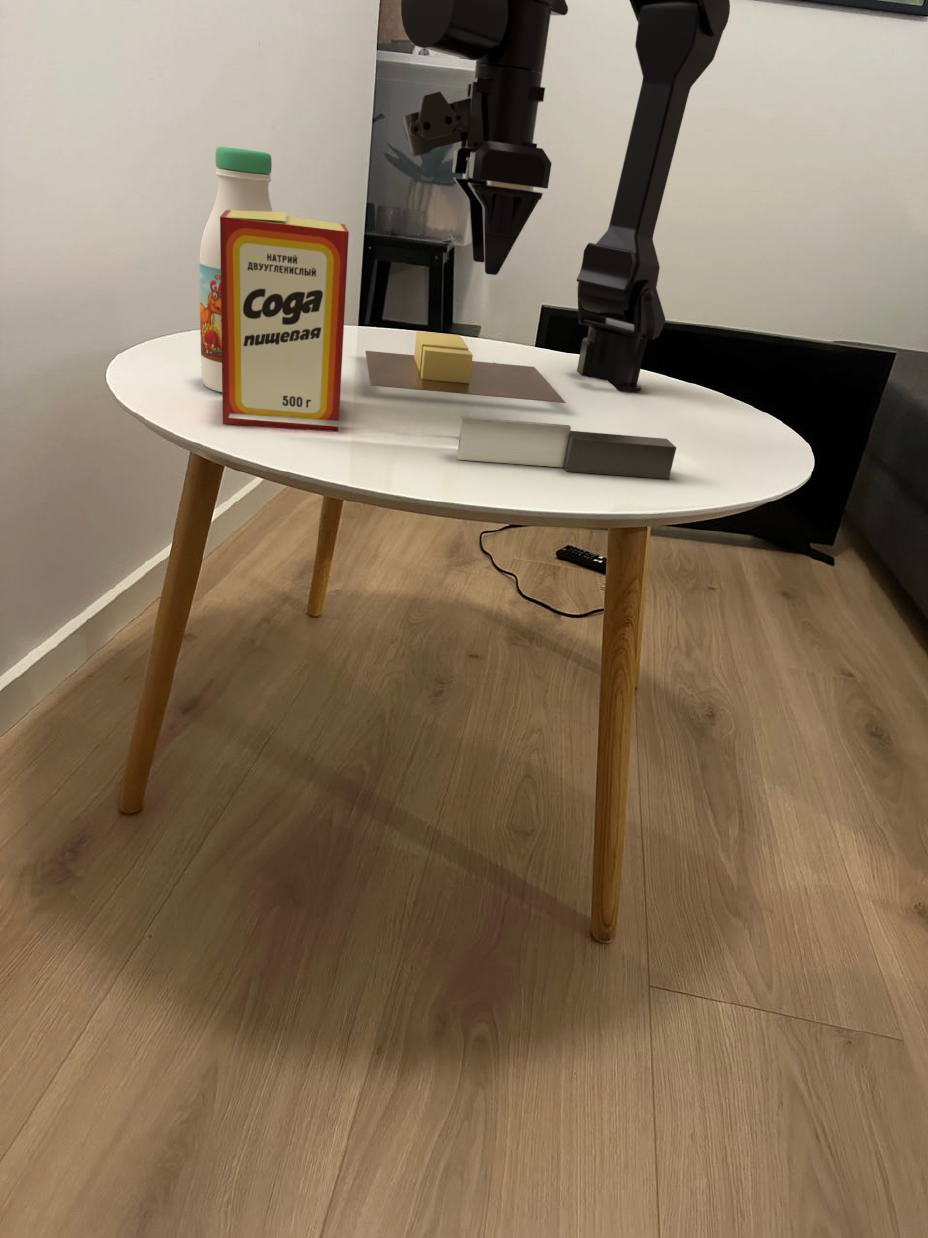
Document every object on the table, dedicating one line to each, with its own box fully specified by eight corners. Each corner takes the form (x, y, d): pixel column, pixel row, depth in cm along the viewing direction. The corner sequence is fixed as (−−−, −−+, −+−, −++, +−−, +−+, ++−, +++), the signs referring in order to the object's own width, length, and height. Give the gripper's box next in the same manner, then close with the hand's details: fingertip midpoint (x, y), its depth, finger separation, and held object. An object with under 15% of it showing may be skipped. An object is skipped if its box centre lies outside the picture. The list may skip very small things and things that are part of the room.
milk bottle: (193, 376, 83) (187, 140, 73) (272, 376, 86) (275, 152, 77) (212, 398, 77) (207, 145, 67) (295, 397, 80) (302, 157, 71)
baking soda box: (335, 410, 78) (344, 218, 71) (338, 431, 73) (349, 226, 65) (227, 402, 76) (225, 204, 69) (222, 423, 71) (219, 210, 63)
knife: (659, 469, 74) (669, 430, 72) (669, 479, 72) (678, 438, 70) (455, 454, 71) (460, 412, 69) (459, 463, 69) (464, 420, 67)
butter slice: (467, 379, 91) (470, 350, 90) (469, 383, 89) (472, 354, 88) (420, 375, 90) (423, 346, 89) (421, 379, 89) (424, 349, 87)
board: (533, 375, 102) (534, 366, 101) (564, 412, 88) (566, 402, 87) (364, 359, 98) (365, 350, 98) (369, 395, 84) (370, 384, 84)
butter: (457, 361, 98) (460, 335, 97) (465, 376, 92) (468, 347, 91) (414, 357, 97) (416, 330, 96) (419, 372, 91) (422, 343, 90)
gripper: (408, 64, 79) (394, 246, 86) (420, 43, 63) (402, 270, 70) (526, 82, 81) (502, 259, 88) (567, 67, 64) (534, 285, 72)
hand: (484, 267), depth 79 cm, fingers open, 9 cm apart
